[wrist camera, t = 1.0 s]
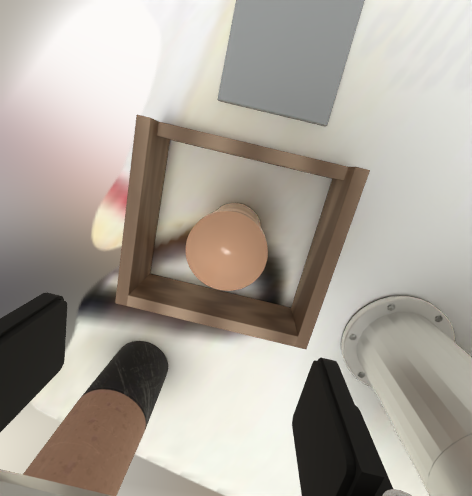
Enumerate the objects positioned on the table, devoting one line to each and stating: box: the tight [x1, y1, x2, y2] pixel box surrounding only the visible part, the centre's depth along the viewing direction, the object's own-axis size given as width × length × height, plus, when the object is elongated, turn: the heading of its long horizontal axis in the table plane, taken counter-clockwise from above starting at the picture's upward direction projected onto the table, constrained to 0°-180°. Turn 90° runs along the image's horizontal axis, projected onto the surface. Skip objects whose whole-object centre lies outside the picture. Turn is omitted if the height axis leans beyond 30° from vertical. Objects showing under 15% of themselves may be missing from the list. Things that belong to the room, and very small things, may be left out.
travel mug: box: [23, 341, 168, 496], centre depth 28 cm, size 8×8×20 cm
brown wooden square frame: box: [115, 115, 370, 349], centre depth 29 cm, size 20×18×6 cm
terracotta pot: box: [186, 203, 268, 291], centre depth 27 cm, size 7×7×9 cm
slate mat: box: [218, 0, 365, 126], centre depth 26 cm, size 11×11×1 cm
